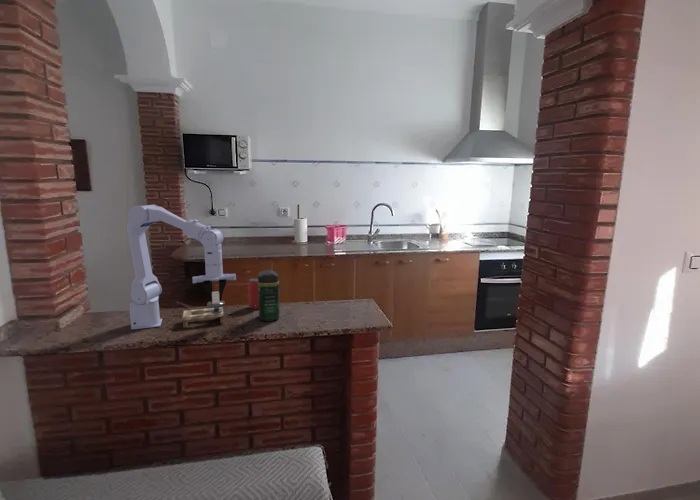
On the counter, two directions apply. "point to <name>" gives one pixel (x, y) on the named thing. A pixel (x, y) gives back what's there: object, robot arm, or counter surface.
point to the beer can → (253, 293)
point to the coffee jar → (268, 295)
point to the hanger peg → (216, 303)
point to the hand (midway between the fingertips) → (215, 300)
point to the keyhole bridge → (201, 315)
